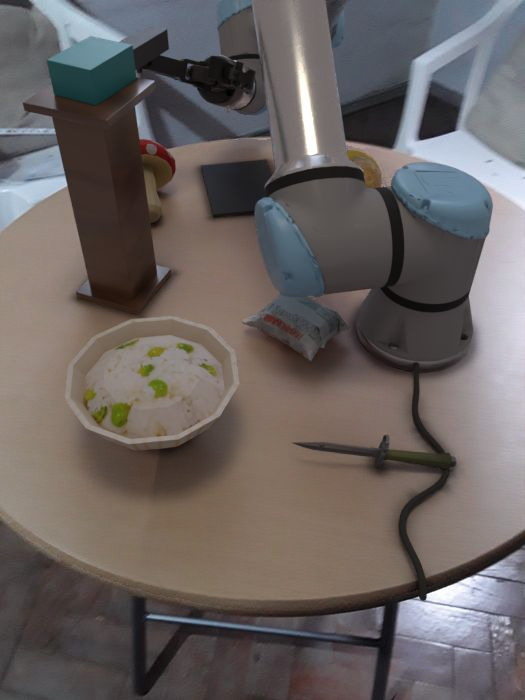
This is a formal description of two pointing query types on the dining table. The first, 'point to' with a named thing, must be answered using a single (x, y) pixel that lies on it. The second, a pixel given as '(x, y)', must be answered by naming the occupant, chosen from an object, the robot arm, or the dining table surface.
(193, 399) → the bowl
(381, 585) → the dining table surface
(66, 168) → the stand
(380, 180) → the fruit
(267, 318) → the packaged food
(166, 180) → the decorative mushroom
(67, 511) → the dining table surface
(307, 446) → the knife
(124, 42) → the teal long block
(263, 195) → the mat
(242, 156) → the dining table surface
